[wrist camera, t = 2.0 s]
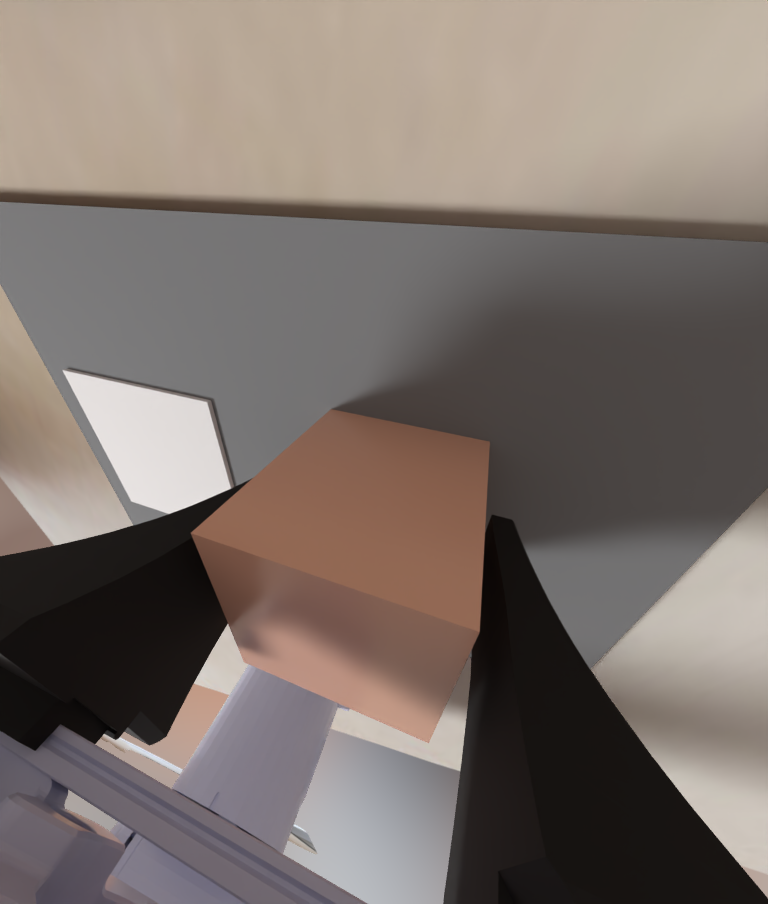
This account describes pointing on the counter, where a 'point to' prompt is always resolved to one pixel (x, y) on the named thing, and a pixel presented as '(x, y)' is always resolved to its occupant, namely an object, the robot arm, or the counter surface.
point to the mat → (420, 370)
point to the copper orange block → (358, 565)
